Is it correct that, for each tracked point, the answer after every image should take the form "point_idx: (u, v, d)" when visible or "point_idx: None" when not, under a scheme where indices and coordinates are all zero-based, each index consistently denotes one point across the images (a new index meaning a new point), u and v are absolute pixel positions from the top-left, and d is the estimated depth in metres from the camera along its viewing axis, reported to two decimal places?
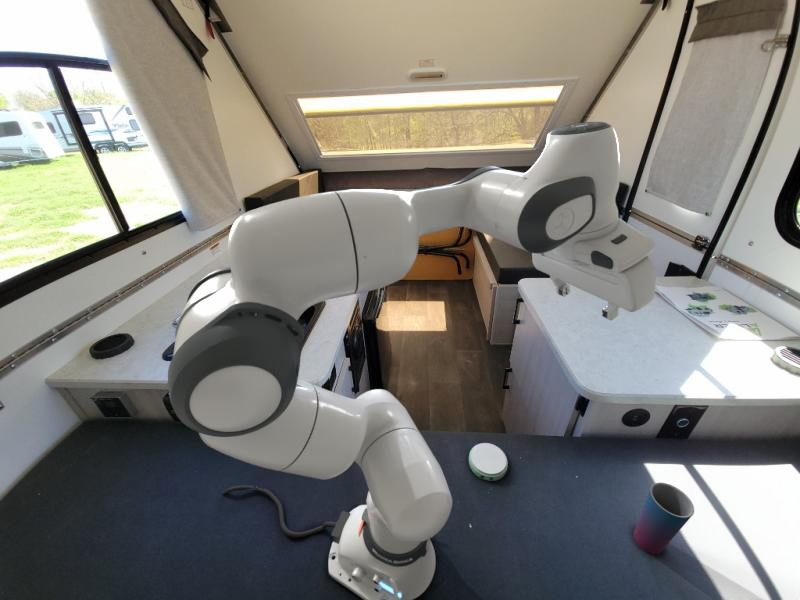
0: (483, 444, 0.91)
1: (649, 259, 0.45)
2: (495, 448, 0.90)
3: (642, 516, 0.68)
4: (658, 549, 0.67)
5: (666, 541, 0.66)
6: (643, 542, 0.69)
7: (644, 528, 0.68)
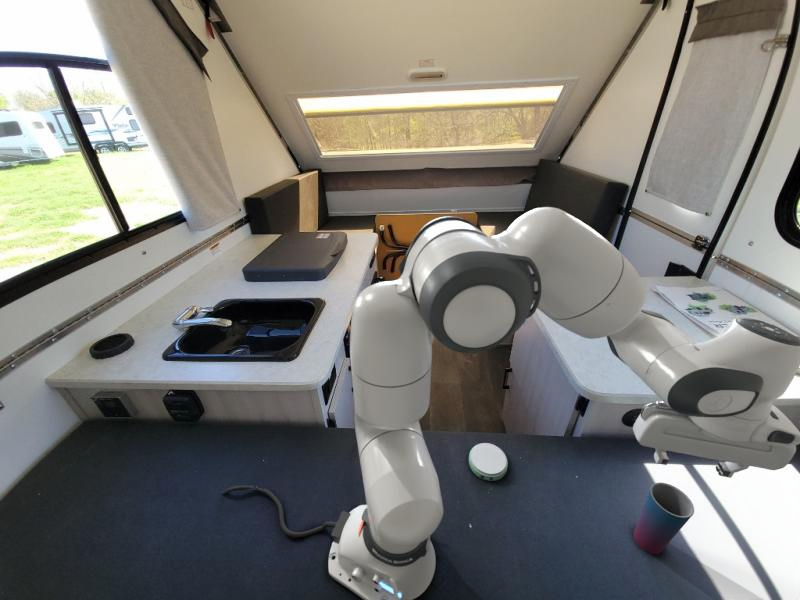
0: (483, 444, 0.91)
1: None
2: (495, 448, 0.90)
3: (642, 516, 0.68)
4: (658, 549, 0.67)
5: (666, 541, 0.66)
6: (643, 542, 0.69)
7: (644, 528, 0.68)
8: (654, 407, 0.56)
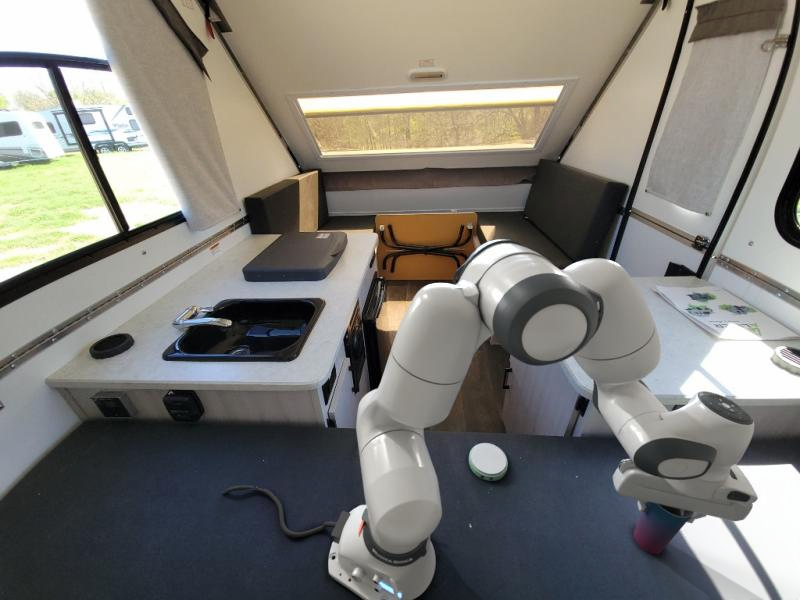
0: (483, 444, 0.91)
1: None
2: (495, 448, 0.90)
3: (642, 516, 0.68)
4: (658, 549, 0.67)
5: (666, 541, 0.66)
6: (643, 542, 0.69)
7: (644, 528, 0.68)
8: (630, 462, 0.62)
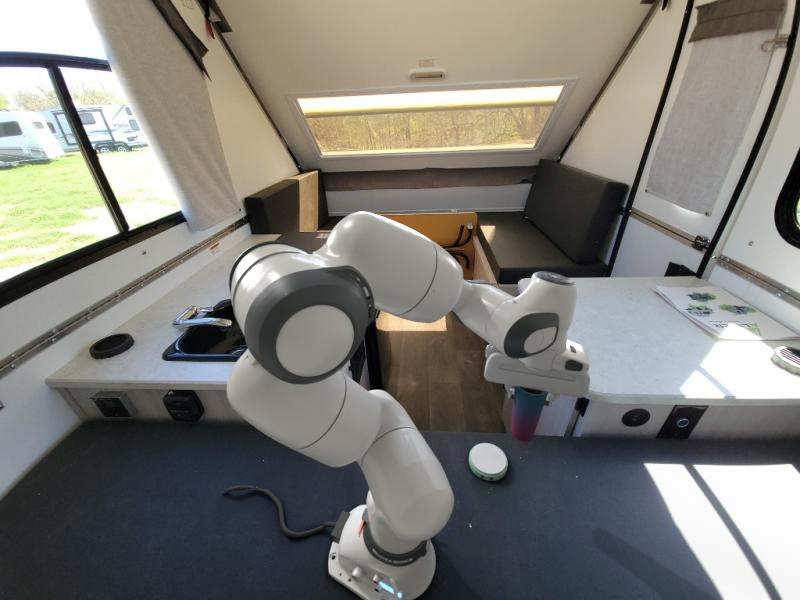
0: (483, 444, 0.91)
1: None
2: (495, 448, 0.90)
3: (513, 405, 0.74)
4: (526, 435, 0.74)
5: (530, 425, 0.72)
6: (514, 430, 0.75)
7: (514, 416, 0.74)
8: (492, 347, 0.69)
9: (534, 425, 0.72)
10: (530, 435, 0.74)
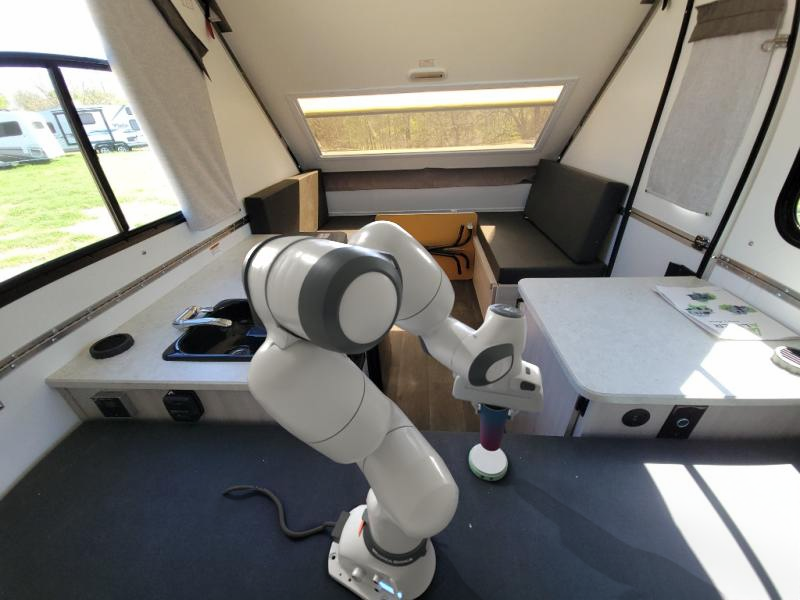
0: None
1: None
2: None
3: (480, 419, 0.82)
4: (492, 445, 0.82)
5: (495, 437, 0.80)
6: (482, 441, 0.83)
7: (481, 428, 0.82)
8: None
9: (499, 437, 0.80)
10: (496, 445, 0.82)
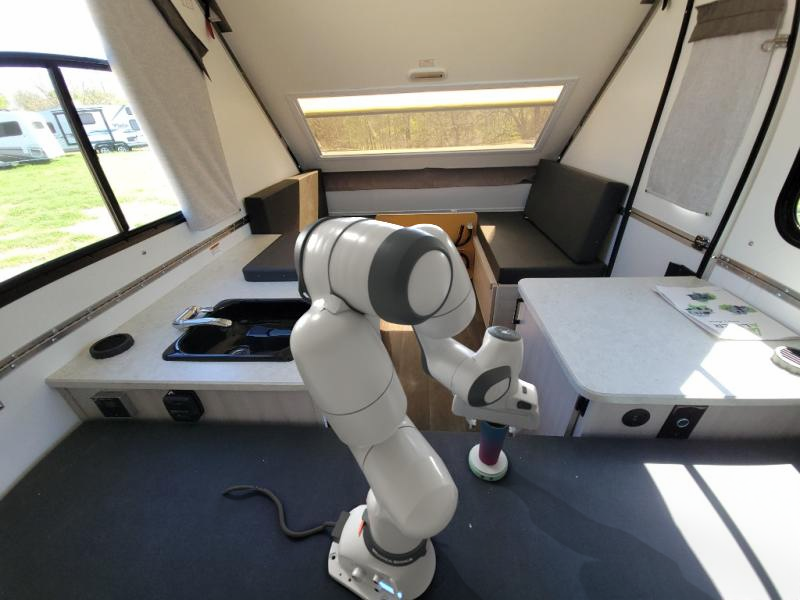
0: None
1: None
2: None
3: None
4: (490, 460, 0.84)
5: (494, 452, 0.82)
6: (481, 456, 0.85)
7: (480, 443, 0.84)
8: None
9: (497, 452, 0.83)
10: (494, 460, 0.84)
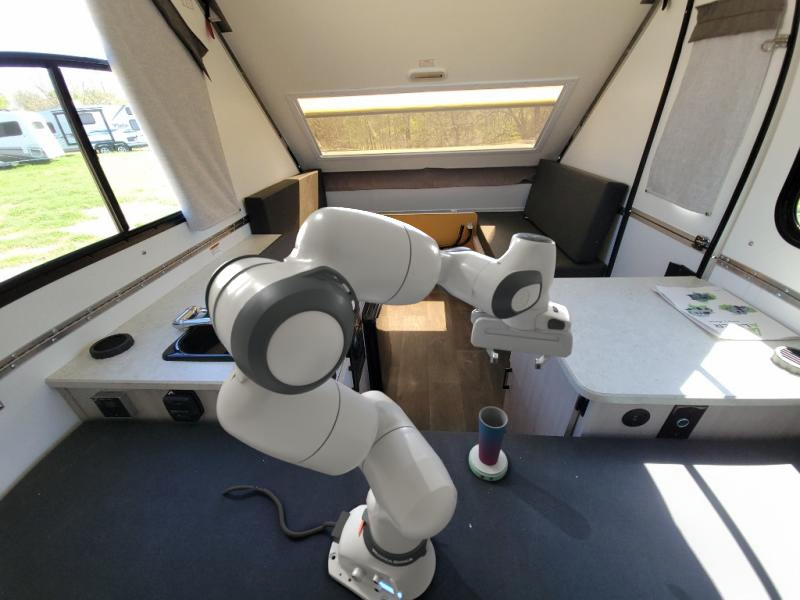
0: None
1: None
2: None
3: None
4: (490, 460, 0.84)
5: (493, 452, 0.82)
6: (481, 456, 0.86)
7: (479, 444, 0.84)
8: (478, 312, 0.70)
9: (496, 452, 0.83)
10: (494, 460, 0.84)
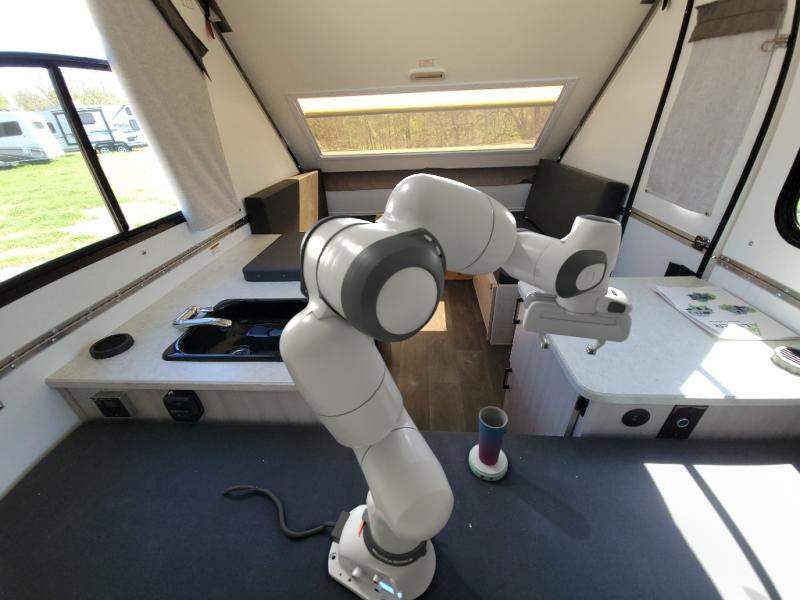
0: None
1: None
2: None
3: None
4: (490, 460, 0.84)
5: (493, 452, 0.82)
6: (481, 456, 0.86)
7: (479, 444, 0.84)
8: (532, 296, 0.70)
9: (496, 452, 0.83)
10: (494, 460, 0.84)
